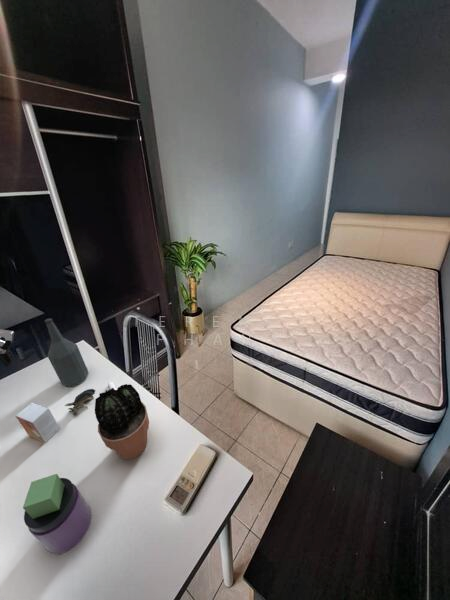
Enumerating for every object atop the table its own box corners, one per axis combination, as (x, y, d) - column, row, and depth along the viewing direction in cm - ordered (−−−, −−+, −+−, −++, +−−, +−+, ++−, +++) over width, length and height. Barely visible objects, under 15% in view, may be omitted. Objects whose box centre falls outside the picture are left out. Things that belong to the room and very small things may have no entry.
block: (32, 519, 52) (22, 507, 50) (40, 493, 56) (31, 481, 54) (59, 509, 53) (50, 498, 51) (64, 485, 58) (56, 473, 55)
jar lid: (21, 541, 51) (15, 536, 50) (36, 491, 59) (32, 486, 58) (71, 522, 53) (67, 517, 52) (80, 477, 61) (77, 471, 60)
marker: (106, 385, 101) (105, 381, 100) (112, 382, 102) (110, 378, 101) (124, 413, 89) (122, 409, 87) (129, 409, 90) (128, 405, 89)
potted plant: (156, 459, 74) (137, 402, 62) (107, 475, 71) (78, 418, 59) (154, 420, 85) (138, 366, 74) (112, 432, 82) (89, 378, 70)
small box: (28, 436, 83) (14, 415, 78) (44, 421, 87) (31, 401, 82) (45, 443, 80) (31, 423, 75) (60, 428, 85) (48, 407, 80)
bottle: (85, 366, 111) (60, 309, 97) (92, 377, 105) (66, 318, 91) (59, 378, 105) (29, 320, 91) (65, 391, 99) (33, 330, 85)
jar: (39, 562, 55) (15, 540, 50) (52, 510, 64) (33, 486, 58) (88, 543, 58) (70, 520, 52) (94, 495, 66) (79, 471, 61)
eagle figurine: (86, 416, 87) (101, 393, 94) (68, 406, 84) (85, 382, 91) (76, 418, 91) (91, 396, 98) (59, 409, 88) (76, 386, 95)
